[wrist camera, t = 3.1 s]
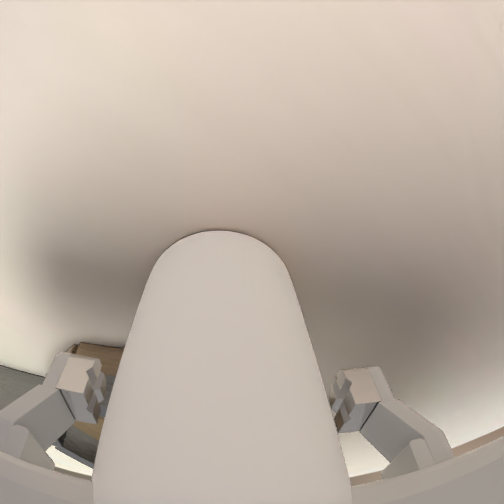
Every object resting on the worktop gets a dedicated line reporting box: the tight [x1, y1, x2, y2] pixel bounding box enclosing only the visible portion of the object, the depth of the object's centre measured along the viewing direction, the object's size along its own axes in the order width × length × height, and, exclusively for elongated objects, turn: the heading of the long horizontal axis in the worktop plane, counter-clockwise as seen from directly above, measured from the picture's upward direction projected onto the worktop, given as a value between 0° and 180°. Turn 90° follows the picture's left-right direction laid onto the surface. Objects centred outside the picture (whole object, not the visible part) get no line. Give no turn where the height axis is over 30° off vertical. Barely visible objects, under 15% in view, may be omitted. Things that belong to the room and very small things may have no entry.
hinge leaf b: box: [0, 365, 116, 468], centre depth 16 cm, size 16×10×4 cm, turn 84°
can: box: [91, 231, 352, 504], centre depth 9 cm, size 6×6×12 cm
